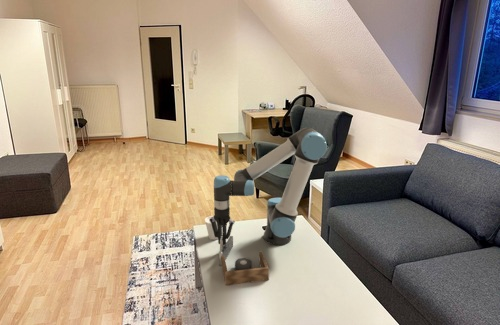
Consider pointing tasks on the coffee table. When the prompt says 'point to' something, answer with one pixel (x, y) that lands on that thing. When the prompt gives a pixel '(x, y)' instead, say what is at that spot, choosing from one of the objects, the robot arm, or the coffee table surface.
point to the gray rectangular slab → (226, 249)
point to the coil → (243, 264)
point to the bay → (246, 273)
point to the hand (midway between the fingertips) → (222, 249)
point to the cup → (210, 228)
